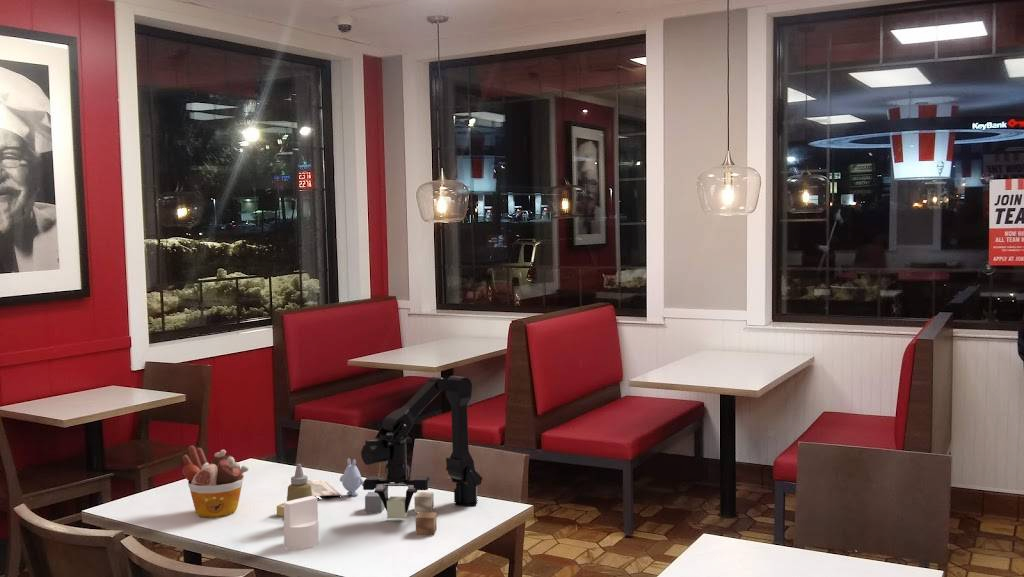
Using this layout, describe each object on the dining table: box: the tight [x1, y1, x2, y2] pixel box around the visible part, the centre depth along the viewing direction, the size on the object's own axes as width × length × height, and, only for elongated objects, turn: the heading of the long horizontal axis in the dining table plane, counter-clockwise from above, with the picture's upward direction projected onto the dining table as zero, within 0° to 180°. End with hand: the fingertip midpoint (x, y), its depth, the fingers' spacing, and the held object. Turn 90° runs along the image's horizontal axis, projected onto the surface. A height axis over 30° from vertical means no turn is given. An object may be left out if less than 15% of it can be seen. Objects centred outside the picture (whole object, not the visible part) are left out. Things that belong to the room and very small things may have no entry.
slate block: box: [364, 491, 386, 514], centre depth 271 cm, size 5×5×5 cm
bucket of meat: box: [181, 444, 249, 519], centre depth 269 cm, size 20×16×20 cm
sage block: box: [386, 496, 408, 520], centre depth 259 cm, size 5×5×5 cm
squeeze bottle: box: [286, 463, 312, 502], centre depth 254 cm, size 8×8×18 cm
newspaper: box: [307, 479, 344, 501], centre depth 292 cm, size 23×12×2 cm, turn 25°
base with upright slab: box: [283, 496, 320, 551], centre depth 239 cm, size 9×9×12 cm
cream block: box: [413, 491, 435, 513], centre depth 270 cm, size 5×5×5 cm
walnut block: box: [415, 511, 438, 536], centre depth 248 cm, size 5×5×5 cm
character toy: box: [276, 502, 284, 517], centre depth 266 cm, size 8×3×8 cm
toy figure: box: [339, 457, 364, 497], centre depth 287 cm, size 11×6×12 cm, turn 55°
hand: (397, 512), depth 259 cm, fingers closed on sage block, 5 cm apart
